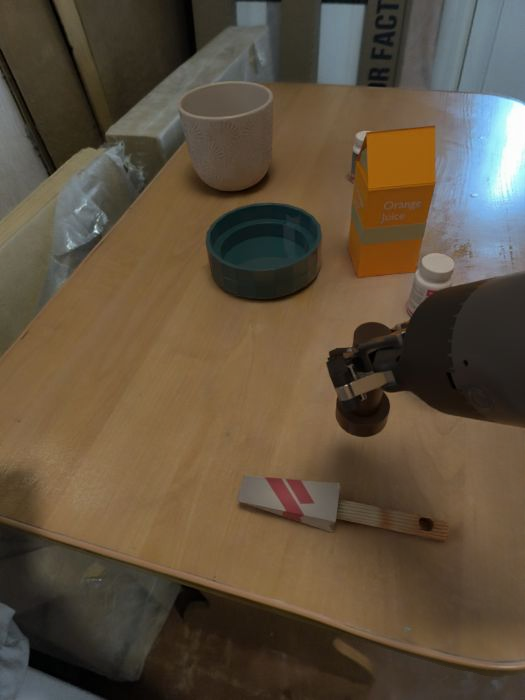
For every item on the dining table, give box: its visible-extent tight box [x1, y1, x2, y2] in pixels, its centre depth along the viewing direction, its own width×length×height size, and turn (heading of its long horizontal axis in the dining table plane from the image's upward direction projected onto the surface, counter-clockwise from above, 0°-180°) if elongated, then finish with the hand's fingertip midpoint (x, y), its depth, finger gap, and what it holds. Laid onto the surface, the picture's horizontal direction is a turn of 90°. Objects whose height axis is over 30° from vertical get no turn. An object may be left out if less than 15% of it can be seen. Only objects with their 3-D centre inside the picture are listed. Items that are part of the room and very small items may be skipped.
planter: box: [176, 80, 274, 192], centre depth 85 cm, size 17×17×15 cm
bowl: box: [204, 202, 323, 300], centre depth 70 cm, size 17×17×6 cm
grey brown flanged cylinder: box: [334, 321, 392, 438], centre depth 39 cm, size 5×5×11 cm
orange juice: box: [347, 125, 437, 278], centre depth 64 cm, size 8×9×20 cm
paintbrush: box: [236, 474, 449, 542], centre depth 44 cm, size 4×3×20 cm
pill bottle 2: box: [406, 252, 456, 317], centre depth 60 cm, size 5×5×8 cm
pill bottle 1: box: [349, 130, 373, 184], centre depth 85 cm, size 5×5×8 cm
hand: (353, 353), depth 39 cm, fingers closed on grey brown flanged cylinder, 3 cm apart
